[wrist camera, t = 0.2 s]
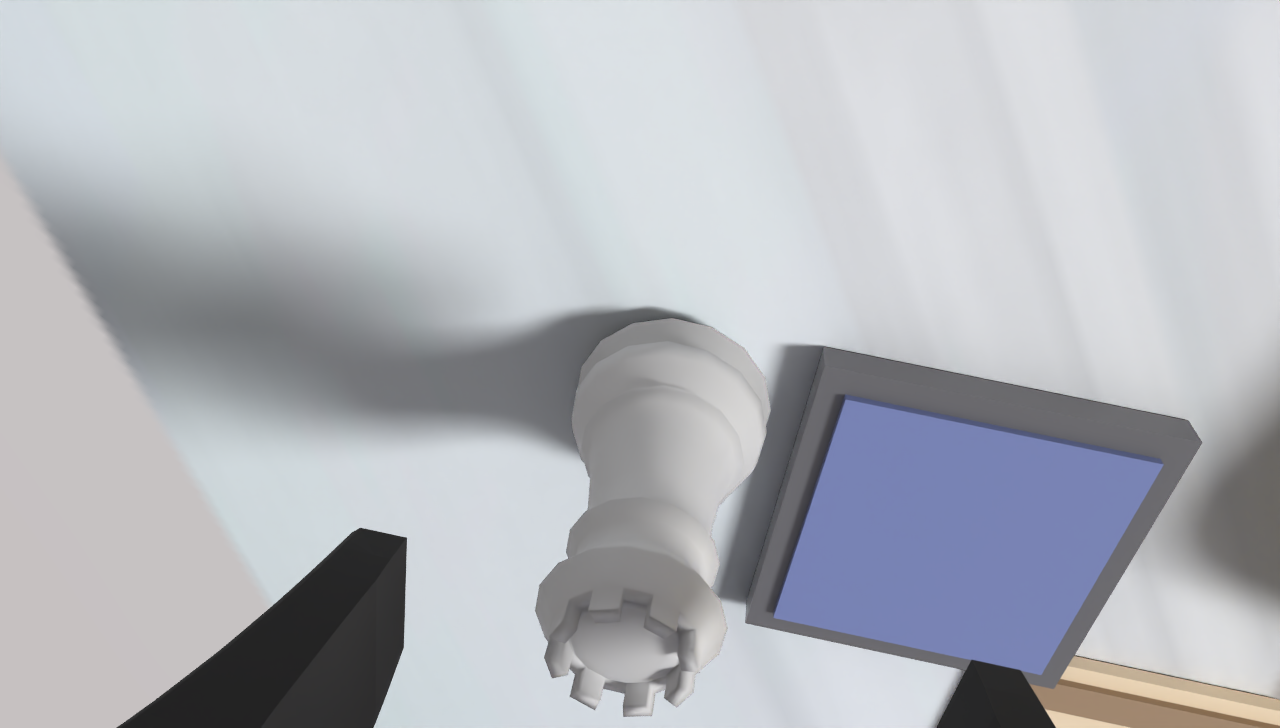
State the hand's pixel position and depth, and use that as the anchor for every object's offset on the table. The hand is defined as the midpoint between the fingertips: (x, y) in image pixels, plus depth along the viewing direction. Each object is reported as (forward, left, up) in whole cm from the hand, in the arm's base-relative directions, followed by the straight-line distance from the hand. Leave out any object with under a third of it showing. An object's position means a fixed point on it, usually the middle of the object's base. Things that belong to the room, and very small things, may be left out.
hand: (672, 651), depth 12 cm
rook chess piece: (-3, +1, -10) cm, 10 cm away
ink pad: (-5, -6, -10) cm, 13 cm away
